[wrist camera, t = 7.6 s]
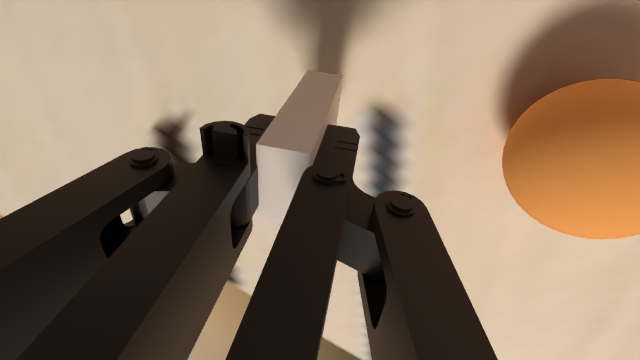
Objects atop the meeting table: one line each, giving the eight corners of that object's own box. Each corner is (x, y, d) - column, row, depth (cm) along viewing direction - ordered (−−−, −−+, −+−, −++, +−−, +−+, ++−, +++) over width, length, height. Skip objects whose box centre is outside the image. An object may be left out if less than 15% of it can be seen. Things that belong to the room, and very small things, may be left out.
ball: (729, 76, 12) (538, 54, 15) (804, 134, 8) (518, 87, 11) (641, 210, 15) (498, 171, 18) (660, 302, 11) (471, 232, 14)
